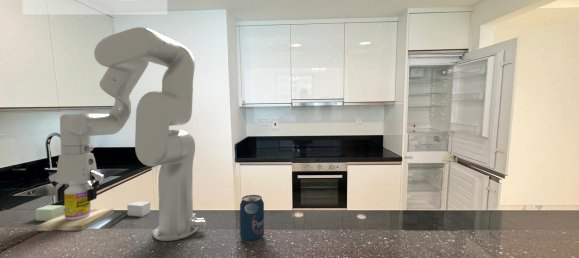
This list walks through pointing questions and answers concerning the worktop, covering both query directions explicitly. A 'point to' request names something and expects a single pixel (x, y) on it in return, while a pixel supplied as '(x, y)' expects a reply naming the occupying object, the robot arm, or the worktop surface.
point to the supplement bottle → (76, 201)
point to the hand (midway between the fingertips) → (77, 200)
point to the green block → (49, 212)
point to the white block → (138, 208)
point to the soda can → (251, 218)
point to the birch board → (74, 221)
